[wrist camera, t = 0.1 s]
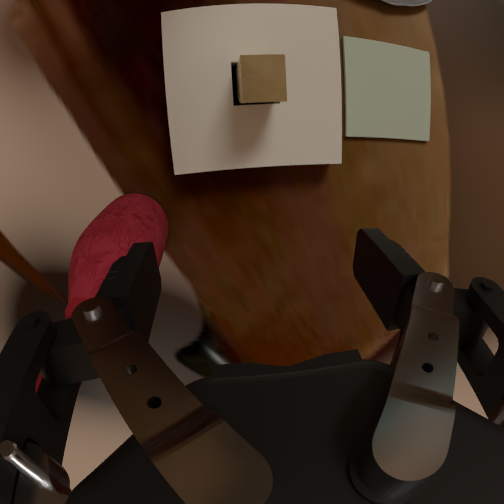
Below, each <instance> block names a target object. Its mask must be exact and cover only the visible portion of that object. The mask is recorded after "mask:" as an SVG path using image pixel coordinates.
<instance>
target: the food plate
mask: <svg viewBox="0 0 504 504" xmlns="http://www.w3.org/2000/svg"><path fill="white" fill-rule="evenodd" d="M382 1H385V2H387V3H390V4H392V5H396V6H420V5H424V4H427V3H429V2H431V1H432V0H382Z"/></svg>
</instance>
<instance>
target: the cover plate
mask: <svg viewBox="0 0 504 504" xmlns="http://www.w3.org/2000/svg"><path fill="white" fill-rule="evenodd" d="M161 23H162V45H163V62H164V76H165V89H166V101H167V111H168V122H169V131H170V140H171V149H172V158H173V166H174V174H175V175H180V174H188V173H197V172H207V171H217V170H228V169H240V168H253V167H268V166H286V165H309V164H341V157H342V99H341V68H340V49H339V34H338V22H337V11H336V8H330V7H320V6H309V5H295V4H230V5H216V6H205V7H195V8H187V9H180V10H173V11H167V12H161ZM262 54H285V66H286V85H287V102H274V103H270V104H248V105H234V104H233V89H232V73H231V66H237V62H238V59H239V57H240V55H262Z"/></svg>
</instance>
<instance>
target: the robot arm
mask: <svg viewBox="0 0 504 504" xmlns="http://www.w3.org/2000/svg"><path fill="white" fill-rule="evenodd" d="M353 273H354V276H355V279H356V280H357V282H358V283H359V285H360V286H361V288H362V290H363V291H364V293H365V295H366V296H367V298H368V299H369V301H370V303H371V304H372V306H373V308H374V309H375V311H376V312H377V314H378V316H379V317H380V319H381V321H382V322H383V324H384V326H385V328H386V329H387V331H390V330H395V329H400V330H401V332H400V335H399V337H398V341H397V344H396V347H395V350H394V354H393V357H392V360H391V363H390V365H388V364H385V363H382V362H378V361H374V360H366V359H362V358H361V356H360V354H359V352H358V349H356V350H350V351H343V352H337V353H330V354H324V355H321V356H318V357H315V358H313V359H310V360H307V361H304V362H301V363H298V364H295V365H292V366H275V365H265V364H255V363H237V364H221V365H211V376H209V377H205V378H202V379H199V380H197V381H194V382H192V383H190V384H188V385H186V386H185V385H184V384H183V383H182V382H181V381H180V380H179V379H178V377H177V376H176V375H175V374H174V373H173V372H172V371H171V369H170V368H169V367H168V366H167V365H166V364H165V362H164V361H163V360H162V359H161V358H160V356H159V355H158V354H157V353H156V352H155V350H154V349H153V348H152V347H151V346H150V344H149V343H148V341H149V337H150V333H151V328H152V324H153V320H154V316H155V312H156V308H157V304H158V301H159V297H160V293H161V277H160V272H159V267H158V263H157V258H156V253H155V248H154V244H153V242H139V243H133V244H132V246H131V248H130V250H129V251H128V253H127V255H126V256H121V257H120V258H119V259H117V260H116V261H115V262H114V263H113V264H112V266H111V267H110V269H109V273H107V275H106V277H105V279H104V280H103V282H102V284H101V286H100V288H99V290H98V292H97V293H96V295H95V297H94V298H90V299H87V300H85V301H83V302H81V303H80V304H79V305H77V306H76V307H75V309H74V310H73V312H72V318H69V319H65V320H61V321H57V322H52V320H51V318H50V316H49V314H48V313H47V312H45V311H34V312H31V313H29V314H27V315H25V316H24V317H22V318H21V319H20V320H19V321H18V323H17V324H16V326H15V328H14V329H13V331H12V333H11V335H10V336H9V338H8V340H7V342H6V344H5V346H4V347H3V349H2V351H1V353H0V504H504V291H503V290H502V289H501V288H500V286H498V285H497V284H496V283H495V282H493V281H492V280H490V279H487V278H483V277H476V278H473V279H472V281H471V284H470V286H469V289H458V288H454V286H453V283H452V282H451V281H450V280H449V279H448V278H447V277H445V276H443V275H441V274H438V273H434V272H425V271H424V270H423V269H422V268H421V267H420V266H419V264H418V263H417V262H416V261H415V260H414V259H413V258H411V256H410V255H409V254H408V253H406V251H405V250H404V249H403V248H402V247H401V246H400V245H399V244H397V243H396V242H394V241H392V240H390V239H388V238H387V237H386V236H385V235H384V234H383V233H382V232H381V231H380V230H379V229H378V228H367V229H359V231H358V233H357V239H356V246H355V254H354V260H353ZM488 326H489V327H490V328H491V330H492V331H493V332H494V334H495V335H496V336H497V338H498V342H499V347H498V350H497V352H496V354H495V356H494V355H493V353H492V352H491V350H490V349H489V347H488V346H487V344H486V343H485V341H484V340H483V339H482V338H483V336H484V334H485V332H486V330H487V328H488ZM457 362H458V364H459V365H460V367H461V369H462V371H463V372H464V374H465V376H466V378H467V379H468V381H469V382H470V385H471V386H472V388H473V390H474V392H475V394H476V396H477V397H478V399H479V401H480V403H481V405H482V407H483V409H484V411H485V413H486V415H487V417H488V419H489V420H488V419H487V418H485V417H483V416H481V415H479V414H477V413H475V412H474V411H472V410H470V409H468V408H466V407H464V406H463V405H461V404H459V403H457V402H455V401H454V400H453V392H454V384H455V376H456V367H457ZM39 373H40V374H41V375H42V379H41V382H40V384H39V387H38V390H37V393H36V381H37V378H38V375H39ZM96 378H100V379H101V381H102V383H103V384H104V386H105V388H106V390H107V392H108V394H109V395H110V397H111V399H112V401H113V402H114V404H115V406H116V407H117V409H118V411H119V412H120V414H121V416H122V417H123V419H124V421H125V422H126V424H127V425H128V427H129V428H130V430H131V431H132V433H133V435H131V437H129V438H128V439H127V440H126V441H125V442H124V443H123V444H122V445H121V446H120V447H119V448H118V449H117V450H115V451H114V453H112V454H111V455H110V456H109V457H108V458H107V459H106V460H105V461H104V462H102V463H101V464H100V465H99V466H98V467H97V468H96V469H95V470H94V471H93V472H91V473H90V474H89V475H88V476H87V477H86V478H85V479H84V480H82V481H81V482H80V483H79V484H78V485H77V486H76V487H75V488H74V489H73V490H72V492H71V489H70V480H69V476H68V474H67V472H66V470H65V469H64V468H63V467H62V461H63V456H64V450H65V446H66V440H67V436H68V431H69V427H70V422H71V418H72V414H73V410H74V406H75V402H76V398H77V394H78V391H79V387H80V383H81V382H82V381H87V380H91V379H96Z"/></svg>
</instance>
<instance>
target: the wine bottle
mask: <svg viewBox="0 0 504 504" xmlns="http://www.w3.org/2000/svg"><path fill="white" fill-rule="evenodd" d="M168 231H169V225H168V219H167V216H166V214H165V212H164V210H163V208H162V207H161V206H160V205H159V204H158V203H157V202H156V201H155V200H154V199H152V198H150V197H149V196H146V195H143V194H138V193H131V194H125V195H122V196H120V197H118V198H117V199H115V200H114V201H113V202H111V203H110V204H109V205H108V206H107V207H106V208H105V209H104V210H103V211H102V212H101V213H100V214H99V215H98V216H97V217H96V218H95V219H94V220H93V221H92V222H91V223H90V224H89V225H88V227H87V228H86V229H85V230H84V232H83V233H82V234H81V236H80V237H79V239H78V241H77V243H76V245H75V247H74V250H73V253H72V257H71V261H70V268H69V303H68V306H67V308H66V311H65V315H66V318H65V319H69V318H72V312H73V310H74V309H75V307H76V306H77V305H79V304H80V303H81V302H83V301H85V300H87V299H90V298H94V297H95V295H96V293H97V292H98V290H99V288H100V286H101V284H102V282H103V280H104V279H105V277H106V275H107V273H109V269H110V267H111V266H112V264H113V263H114V262H115V261H116V260H117V259H119V258H120V257H121V256H126V255H127V253H128V251H129V250H130V248H131V246H132V244H133V243H139V242H153V244H154V248H155V253H156V258H157V263H158V267H159V265H160V262H161V259H162V256H163V252H164V249H165V245H166V241H167V237H168ZM41 379H42V375H41V374H40V373H39V375H38V378H37V381H36V393H37V390H38V387H39V384H40V382H41ZM81 383H82V382H81ZM81 383H80V385H81ZM79 388H80V387H79Z"/></svg>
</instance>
